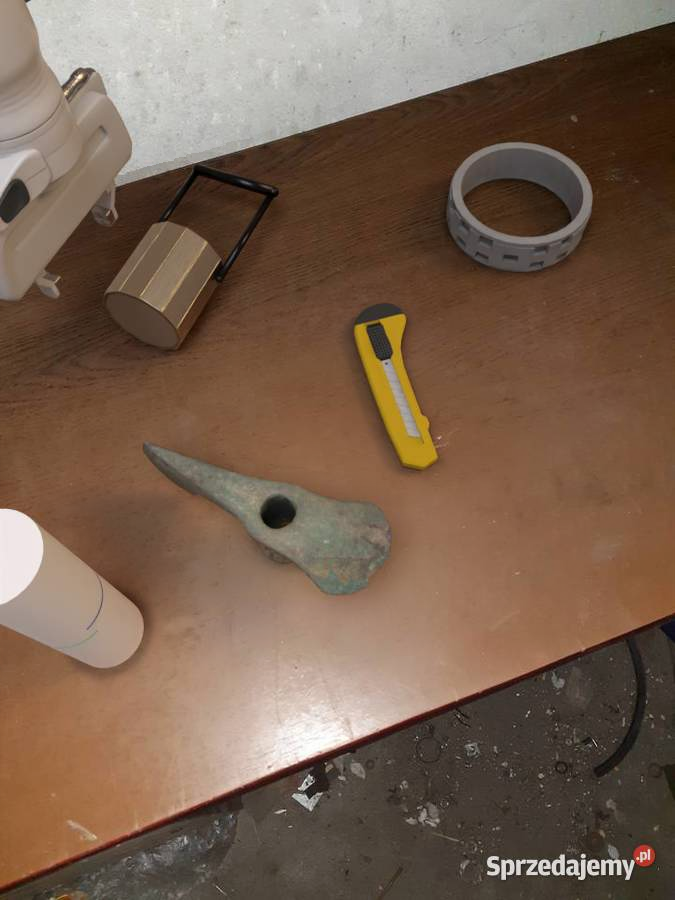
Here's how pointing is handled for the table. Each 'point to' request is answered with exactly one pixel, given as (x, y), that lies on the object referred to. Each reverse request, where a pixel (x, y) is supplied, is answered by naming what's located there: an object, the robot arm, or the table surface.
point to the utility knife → (393, 384)
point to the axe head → (291, 521)
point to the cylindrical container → (62, 597)
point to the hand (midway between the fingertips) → (82, 255)
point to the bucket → (175, 271)
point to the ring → (524, 165)
